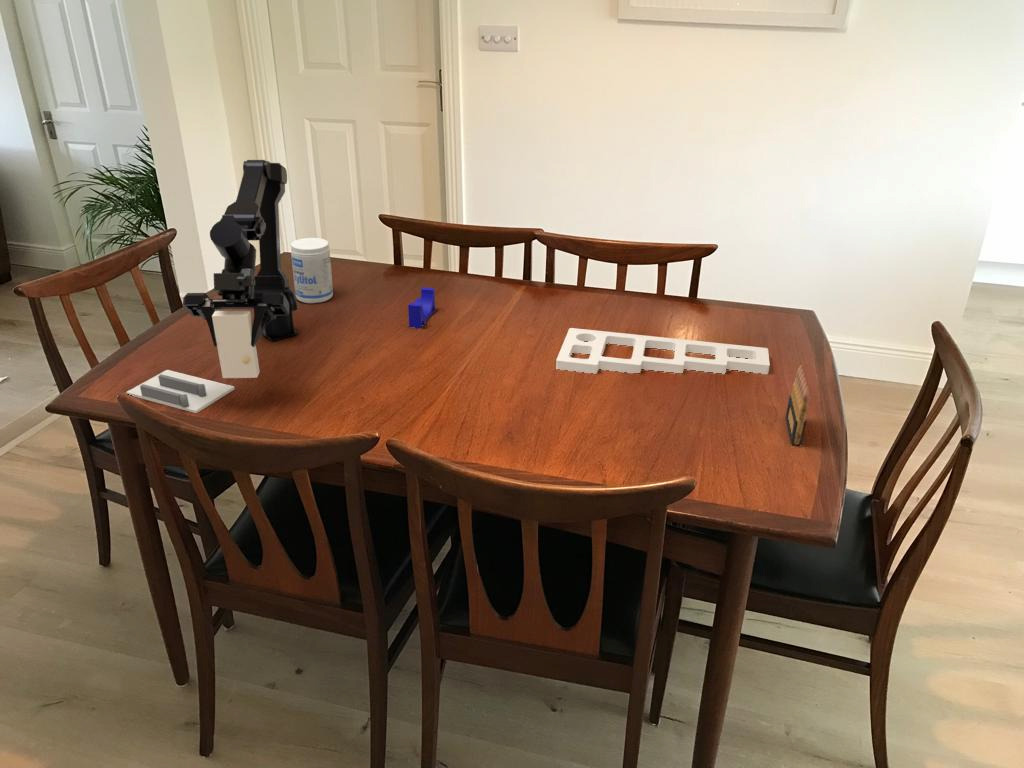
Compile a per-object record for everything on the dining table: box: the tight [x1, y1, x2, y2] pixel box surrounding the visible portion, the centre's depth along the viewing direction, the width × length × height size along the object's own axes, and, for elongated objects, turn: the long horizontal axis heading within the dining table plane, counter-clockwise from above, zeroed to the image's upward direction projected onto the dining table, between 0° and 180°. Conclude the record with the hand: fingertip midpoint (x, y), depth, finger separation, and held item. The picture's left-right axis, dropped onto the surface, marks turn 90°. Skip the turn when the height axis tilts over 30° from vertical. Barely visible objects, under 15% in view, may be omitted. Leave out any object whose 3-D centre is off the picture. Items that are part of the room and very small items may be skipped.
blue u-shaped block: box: [407, 286, 436, 329], centre depth 199 cm, size 12×4×6 cm, turn 169°
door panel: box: [212, 310, 260, 379], centre depth 155 cm, size 4×6×13 cm, turn 93°
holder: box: [555, 327, 771, 375], centre depth 180 cm, size 45×18×3 cm, turn 77°
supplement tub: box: [290, 237, 334, 304], centre depth 208 cm, size 10×10×15 cm
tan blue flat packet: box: [785, 364, 810, 446], centre depth 152 cm, size 11×2×12 cm, turn 169°
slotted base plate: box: [125, 369, 235, 414], centre depth 165 cm, size 11×18×3 cm, turn 66°
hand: (234, 346), depth 154 cm, fingers closed on door panel, 6 cm apart
